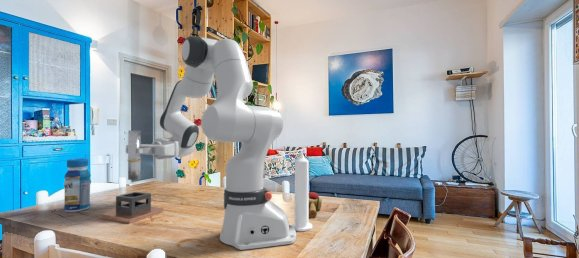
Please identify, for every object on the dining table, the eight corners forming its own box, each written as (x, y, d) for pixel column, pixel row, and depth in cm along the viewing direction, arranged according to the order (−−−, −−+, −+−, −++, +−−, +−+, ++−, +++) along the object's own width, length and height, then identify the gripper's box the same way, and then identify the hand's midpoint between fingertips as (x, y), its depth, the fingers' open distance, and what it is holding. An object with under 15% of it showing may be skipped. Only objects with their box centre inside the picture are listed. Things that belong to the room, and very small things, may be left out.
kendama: (325, 221, 97) (322, 201, 115) (322, 205, 97) (320, 187, 115) (304, 224, 98) (304, 204, 116) (301, 208, 97) (302, 190, 115)
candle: (311, 232, 83) (311, 151, 83) (288, 230, 85) (288, 151, 85) (313, 224, 90) (313, 150, 90) (292, 223, 91) (293, 149, 92)
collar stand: (136, 208, 108) (137, 189, 109) (163, 212, 103) (163, 192, 103) (101, 218, 95) (101, 197, 96) (129, 223, 90) (130, 201, 90)
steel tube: (142, 177, 102) (143, 130, 102) (137, 179, 98) (138, 130, 98) (131, 177, 102) (131, 130, 102) (125, 180, 97) (125, 130, 97)
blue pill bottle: (92, 209, 107) (93, 159, 107) (65, 214, 100) (65, 160, 101) (88, 205, 112) (88, 157, 113) (61, 209, 106) (62, 159, 106)
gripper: (144, 140, 116) (112, 141, 103) (181, 141, 108) (152, 142, 95) (143, 155, 115) (112, 158, 103) (181, 157, 108) (152, 160, 95)
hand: (132, 150), depth 99 cm, fingers closed on steel tube, 4 cm apart
